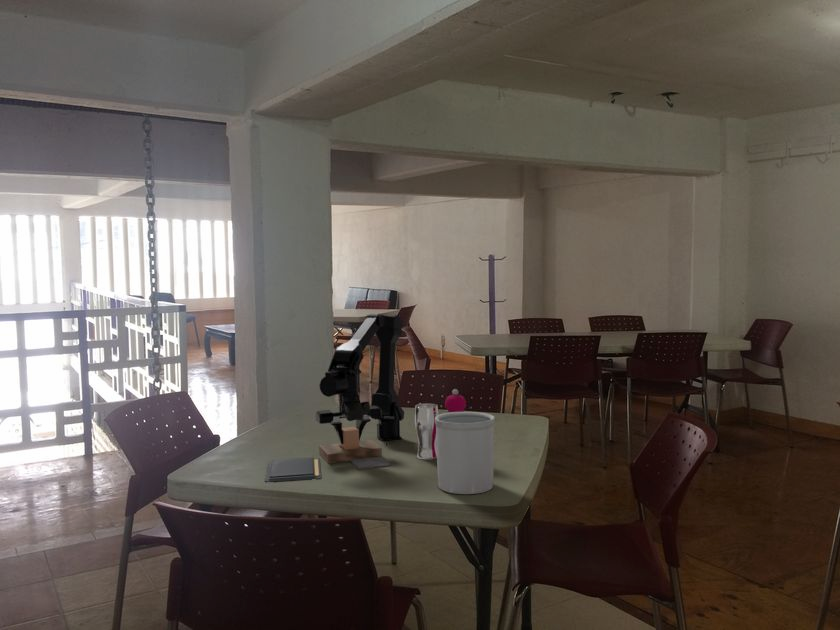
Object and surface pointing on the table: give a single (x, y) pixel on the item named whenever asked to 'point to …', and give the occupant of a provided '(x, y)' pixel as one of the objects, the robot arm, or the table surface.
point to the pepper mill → (455, 402)
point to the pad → (370, 462)
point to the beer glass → (426, 430)
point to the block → (350, 438)
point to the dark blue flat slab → (293, 470)
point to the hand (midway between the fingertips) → (349, 443)
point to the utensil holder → (465, 452)
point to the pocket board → (349, 452)
